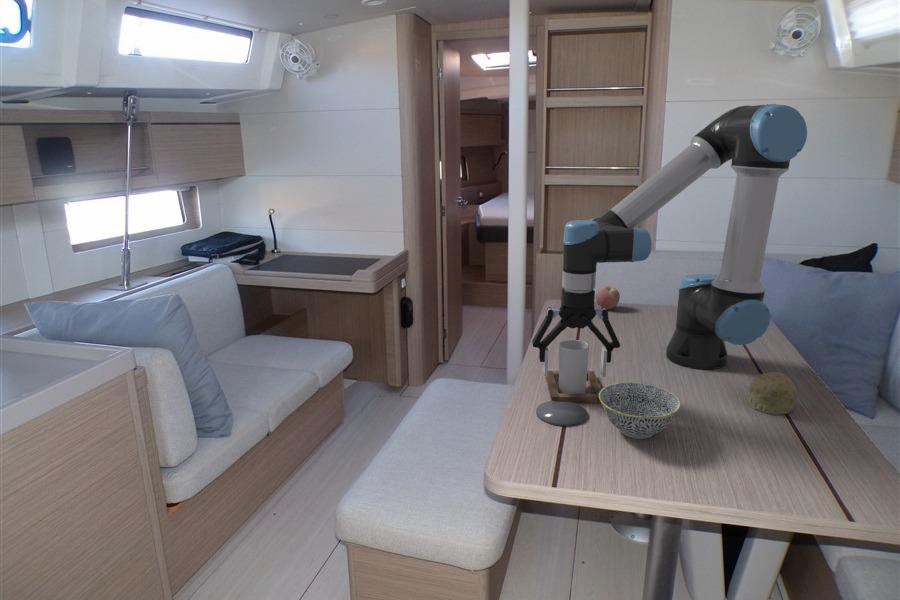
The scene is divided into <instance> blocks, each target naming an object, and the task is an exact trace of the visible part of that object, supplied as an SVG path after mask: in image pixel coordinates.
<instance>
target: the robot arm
mask: <svg viewBox="0 0 900 600" xmlns="http://www.w3.org/2000/svg"><path fill="white" fill-rule="evenodd" d="M807 137H808V128H807V122H806V121H805V118H804V117H803V115H802V114H801V113H800V111H799V110H798V109H796V108H794V107H792V106H790V105H788V104H786V105H785V104H776V103H773V104H772V103H770V104H762V105H761V104H756V105H742V106H738V107H734V108H732V109H729V110H728V111H726V112H723V114H721V115H720V116H719V117H717V118H716V119H714V120H713V121H711V122H710V123H708V124H707V125H706V126H705V127H703V128H702V129H701V130H700V131H699V132H698V133H697V134H695V135H694V136H692V137H691V139H690V144H689V146H687V147H686V148H685V149H683V150H682V151H681V152H680V153H678V154H677V155H676V156H675V157H674V158H672V159H671V160H670V161H669V162H668V163H666V164H665V165H664V166H662V167H660V169H658V171H656V172H655V173H654V174H653V175H651V176H650V177H649V178H648V179H646V180H645V181H644V182H643V183H641V184H640V185H639V186H638V187H637V188H635V189H634V190H633V191H632V192H630V193H629V194H628V195H627V196H626V197H624V198H623V199H622V200H621V201H620V202H618V203H617V204H616V205H614V206H613V207H612V208H611V209H609V210H608V211H606V212H605V213H604V214H603V215H602V216H600V217H593V218H591V219H588V220H587V219H585V220H583V219H575V220H570V221H568V222H566V224H565V226H564V231H563V240H562V244H563V245H562V246H563V247H562V248H563V249H562V276H561V287H562V289H561V295H560V299H561V300H560V307H559V309H558V308H556V309H555V308H552V307H551V306H548V307H547V309H546V313H545V317H544V319H543V321H542V323H541V324H540V326H539V328H538V330H536V333H535V334H534V337H533V338H532V341H531V344H532V346H533V348H537V349H538V350H539V352H538V353H539V354H538V355H539V357H538V359H539V361H540V363H543V370H542V371H543V372H542V373H543V376H544V377H545V376H548V371H549V348H548V346H550V344H551V343H553V342H554V340H555V339H556V338H557V337H558V336H559V335H560V334H561V333H562V332H563V331H565V330H566V329H567V328H569V329H575V328H576V329H585V328H586V327H588V329H589V330H590V331H591V333H593V334H594V335H595V336H596V338H597V339H598V340H599V342H600V343H601V344H602V345H603V346H601V353H600V354H601V356H600V357H601V358H600V369H599V371H600V375H601V377H604V378H606V376H607V375H606V374H607V363H608V364H609V363H611V361H612V352H613V351H614V349H619V348H620V347H621V343H620V341H619V338H618V337H617V335H616V333H615V330H614V328H613V326H612V324H611V323H610V319H609V310H608V309H606V308H605V307H600V308H599V309H595V301H596V291H595V290H594V289H595V288H596V283H597V282H596V280H597V277H596V276H597V273H596V272H597V265H598V264H599V263H601V264H603V263H628V262H630V263H634V262H641V261H642V262H643V261H645V260H648V258H649V256H650V254H651V251H652V243H653V242H652V237H651V233H650V232H649V231H648V229H646V228H644V227H643V228H639V226H640V225H642V224H643V223H644V222H645V221H647V220H648V219H649V218H650V217H652V216H653V215H654V214H656V213H657V212H658V211H659V210H660V209H661V208H663V207H665V205H667V204H668V203H669V202H670V201H671V200H673V199H674V198H675V197H677V196H678V195H679V194H681V193H682V192H683V191H684V190H685V189H687V188H688V187H690V185H692V184H693V183H694V182H696V181H697V180H698V179H699V178H700V177H702V176H703V175H705V173H707V172H708V171H709V170H711V169H715V170H716V169H719V168H720V167H721V166H722V165H724V164H725V163H727V162H729V161H731V164H730V167H731V168H732V170H733V171H734V172H735V174H736V178H735V185H734V188H733V189H734V191H733V197H732V202H731V208H730V213H729V218H728V225H727V231H726V237H725V243H724V249H723V254H722V260H721V267H720V272H719V274H713V273H712V274H706V273H705V274H704V273H703V274H702V273H701V274H697V273H696V274H688V275H684V276H683V277H682V278H681V279H680V282H679V287H678V298H677V299H678V301H677V311H676V323H675V329H674V332H673V334H672V336H671V338H670V340H669V342H668V344H667V347H666V353H665V355H666V358H667V359H668V360H669V361H671V362H672V363H675V364H676V365H679V366H683V367H687V368H692V369H700V370H701V369H702V370H713V369H719V368H722V367H724V366H726V365H727V362H728V350H727V346H726V343H725V342H727V343H730V344H731V345H735V346H746V345H748V344H751V343H754V342H755V341H756V340H758V339H759V338H761V337H762V336H763V335H764V334H765V333H766V332H767V331H768V328H769V327H770V323H771V316H772V315H771V312H770V309H769V308H768V306H767V305H766V303H764V298H765V293H766V288H765V287H764V285H763V284H762V282H761V276H762V275H761V274H762V270H763V265H764V259H765V254H766V249H767V243H768V237H769V234H770V233H769V232H770V228H771V221H772V219H773V218H772V216H773V211H774V208H775V207H774V206H775V200H776V197H777V191H778V186H779V185H778V184H779V181H780V180H779V179H780V177H781V176H782V175H784V174H785V173H786V172H787V171H789V167H790V163H791V160H792V159H794V158H796V156H797V155H798V153H800V152H802V150H803V149H804V146H805V145H806V141H807ZM557 316H559V317H560V318H561V319H560V320H559V321H558V323H557V324H555V326H553V329H551V330H550V332H549V333H548V334H547V335H546V336H545V334H546V332H547V330H548V328H549V327H550V325H551V323H552V322H553V319H555V318H556V317H557ZM596 316H598V318H599V319H601V320H602V322H603V325H604V326H605V329H606V331H607V333H608V335H609V337H610V339H611V341H609V340H608V339H607V338H606V337H605V335H604V334H603V333H602V332H601V331H600V330H599V328H598V327H597V326H596V325H595V323H594V322H593V321H592V320H593V319H594V318H595V317H596ZM544 336H545V337H544Z"/></svg>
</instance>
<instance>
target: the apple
mask: <svg viewBox="0 0 900 600" xmlns="http://www.w3.org/2000/svg"><path fill="white" fill-rule="evenodd" d="M595 302H596V304H597V305H598V306H599V307H600V308H602V307H605V308H606V310H611V309H614V308H615V307H617V305H618V304H619V302H620V293H619V291H618V289H617V288H616V287H615V286H612V285H604V286H601V287H599V288H598V289H597V291H596V292H595Z"/></svg>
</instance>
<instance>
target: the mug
mask: <svg viewBox="0 0 900 600" xmlns="http://www.w3.org/2000/svg"><path fill="white" fill-rule="evenodd" d="M589 346H590V345H589V344H588V343H587V342H585V341H583V340H579V339H565V340H562V341H560V342H559V346H558V347H559V348H558V350H559V351H558V371H559V379H558V393H559V394H586V389H587V380H588V379H587V371H588V363H589V351H590V350H589V349H590V347H589Z"/></svg>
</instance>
